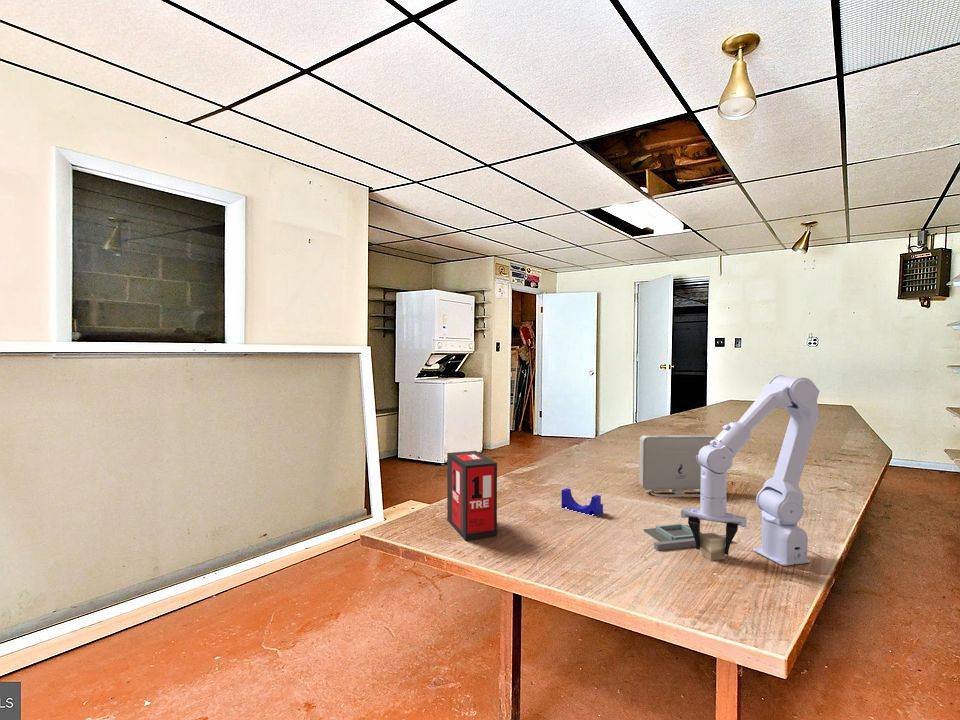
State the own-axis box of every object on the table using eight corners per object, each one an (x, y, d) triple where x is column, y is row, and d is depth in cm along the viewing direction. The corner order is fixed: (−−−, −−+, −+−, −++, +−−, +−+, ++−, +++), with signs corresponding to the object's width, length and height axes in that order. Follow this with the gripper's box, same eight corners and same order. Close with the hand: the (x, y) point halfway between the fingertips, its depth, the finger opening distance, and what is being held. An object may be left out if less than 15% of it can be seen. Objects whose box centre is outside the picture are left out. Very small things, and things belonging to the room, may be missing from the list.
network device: (645, 497, 170) (645, 438, 169) (636, 489, 179) (636, 433, 178) (719, 496, 171) (720, 438, 170) (707, 489, 180) (707, 433, 179)
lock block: (725, 558, 121) (725, 538, 121) (710, 560, 120) (711, 540, 120) (713, 552, 125) (713, 532, 125) (699, 553, 124) (700, 533, 124)
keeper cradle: (714, 541, 132) (714, 535, 132) (667, 546, 129) (667, 540, 129) (687, 526, 143) (687, 521, 143) (643, 530, 140) (643, 525, 140)
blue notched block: (602, 513, 154) (603, 494, 154) (595, 517, 150) (596, 497, 150) (568, 505, 162) (569, 487, 162) (561, 509, 158) (561, 490, 158)
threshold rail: (731, 542, 132) (731, 536, 132) (657, 550, 126) (657, 544, 126) (727, 539, 133) (727, 534, 133) (654, 548, 128) (654, 542, 128)
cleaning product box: (496, 536, 135) (497, 463, 135) (465, 541, 132) (465, 465, 131) (475, 516, 151) (475, 450, 150) (447, 520, 148) (447, 452, 147)
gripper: (747, 495, 122) (746, 550, 123) (683, 487, 129) (682, 539, 130) (746, 503, 116) (745, 561, 117) (679, 494, 123) (679, 549, 124)
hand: (712, 550), depth 123 cm, fingers closed on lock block, 6 cm apart
